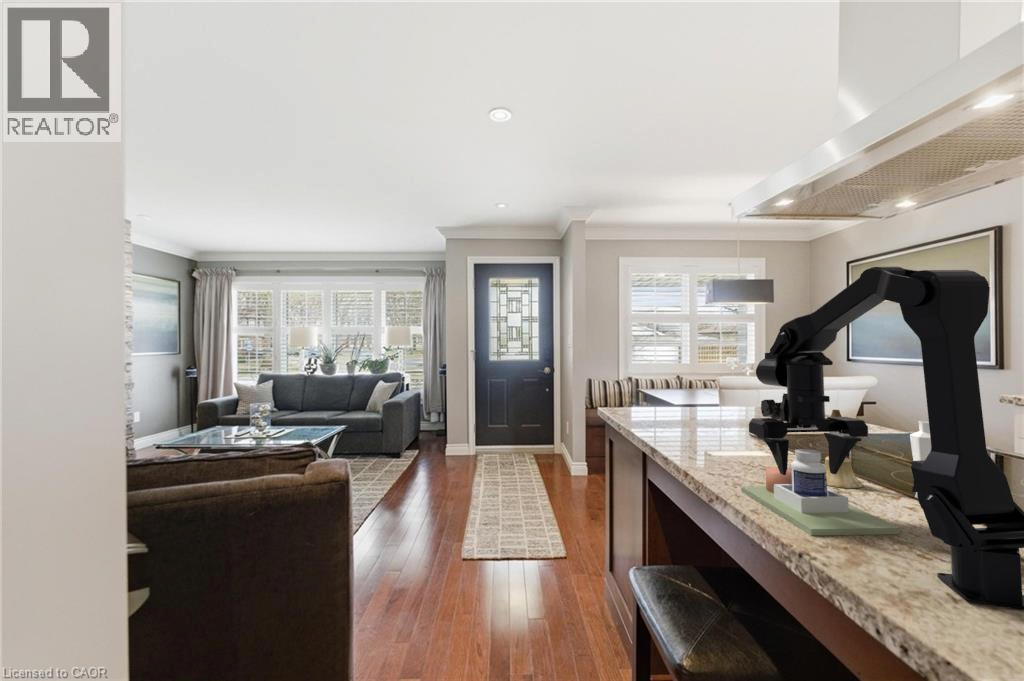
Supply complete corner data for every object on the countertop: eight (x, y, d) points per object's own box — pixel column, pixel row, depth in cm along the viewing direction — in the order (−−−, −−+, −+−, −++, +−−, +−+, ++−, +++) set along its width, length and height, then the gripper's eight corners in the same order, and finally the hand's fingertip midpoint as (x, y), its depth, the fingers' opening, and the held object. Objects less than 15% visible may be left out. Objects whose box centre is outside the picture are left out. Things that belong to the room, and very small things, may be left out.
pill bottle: (833, 510, 78) (831, 455, 78) (800, 508, 79) (798, 454, 79) (818, 500, 83) (817, 448, 83) (787, 498, 84) (785, 447, 84)
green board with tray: (900, 534, 70) (898, 502, 70) (811, 535, 70) (810, 503, 70) (808, 490, 92) (807, 466, 92) (741, 491, 92) (740, 467, 92)
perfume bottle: (907, 497, 86) (904, 420, 87) (920, 494, 88) (917, 419, 88) (936, 505, 82) (933, 424, 83) (950, 501, 84) (946, 422, 84)
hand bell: (807, 477, 101) (805, 407, 101) (844, 477, 100) (842, 407, 101) (832, 489, 93) (829, 412, 93) (873, 488, 92) (870, 412, 93)
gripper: (825, 385, 90) (828, 462, 89) (733, 386, 90) (735, 463, 89) (869, 390, 78) (872, 478, 78) (764, 391, 79) (766, 479, 78)
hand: (808, 474), depth 81 cm, fingers open, 9 cm apart
